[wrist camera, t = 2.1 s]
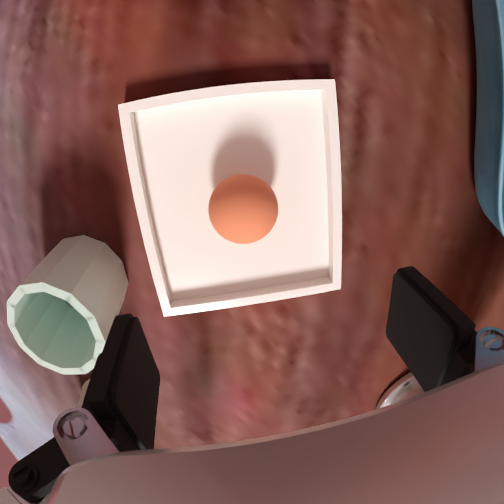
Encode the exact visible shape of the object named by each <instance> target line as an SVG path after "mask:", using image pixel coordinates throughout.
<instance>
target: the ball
mask: <svg viewBox="0 0 504 504" xmlns="http://www.w3.org/2000/svg"><path fill="white" fill-rule="evenodd" d="M208 212H209V218H210V221H211V224H212V226H213V227H214V229H215V230H216V231H217V233H218V234H219V235H220V236H222V237H223V238H225V239H226V240H228V241H231V242H234V243H238V244H249V243H253V242H256V241H258V240H260V239H262V238H263V237H265V236H266V235H267V234H268V233H269V232H270V231H271V230H272V228H273V226H274V225H275V223H276V220H277V216H278V201H277V198H276V195H275V193H274V191H273V190H272V188H271V187H270V186H269V185H268V184H267V183H266V182H265V181H263V180H262V179H260V178H258V177H256V176H253V175H248V174H239V175H234V176H231V177H229V178H227V179H225V180H223V181H222V182H221V183H220V184H218V186H217V187H216V188H215V189H214V191H213V193H212V195H211V197H210V200H209V205H208Z"/></svg>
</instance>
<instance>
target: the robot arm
mask: <svg viewBox="0 0 504 504" xmlns="http://www.w3.org/2000/svg"><path fill="white" fill-rule="evenodd" d="M475 326H476V325H475V324H474V323H473V322H472V321H471V320H470V319H469V318H468V317H467V316H466V315H465V314H464V313H463V312H462V311H461V310H460V309H459V308H458V307H457V306H456V305H455V304H454V303H453V302H452V301H450V300H449V299H448V298H447V297H446V296H445V295H444V294H443V293H442V292H441V291H440V290H439V289H438V288H437V287H435V286H434V285H433V284H432V283H431V282H430V281H429V280H428V279H427V278H426V277H424V276H423V275H422V274H421V273H420V272H419V271H418V270H417V269H415V268H414V267H413V266H409V267H405V268H400V269H398V270H397V273H395V274H394V276H393V283H392V291H391V299H390V306H389V313H388V320H387V326H386V335H387V338H388V339H389V341H390V342H391V344H392V345H393V346H394V348H395V349H396V351H397V352H398V354H399V355H400V357H401V358H402V359H403V361H404V362H405V364H406V365H407V367H408V368H409V370H410V371H411V372H410V373H408V374H407V375H405V376H403V377H402V378H401V379H399V380H398V381H397V382H395V383H394V384H393V385H392V386H391V387H390V388H389V389H388V390H387V391H386V392H385V393H384V395H383V396H382V397H381V399H380V401H379V402H378V404H377V407H376V410H372V411H369V412H366V413H363V414H359V415H356V416H353V417H349V418H345V419H342V420H338V421H334V422H330V423H326V424H322V425H318V426H314V427H310V428H306V429H301V430H296V431H292V432H287V433H282V434H276V435H271V436H266V437H260V438H254V439H247V440H241V441H234V442H226V443H218V444H209V445H199V446H189V447H177V448H162V449H154V437H155V425H156V414H157V404H158V395H159V385H160V374H159V371H158V368H157V366H156V363H155V361H154V358H153V356H152V353H151V351H150V348H149V346H148V343H147V340H146V338H145V335H144V332H143V330H142V327H141V324H140V321H139V319H138V318H137V317H133V315H132V314H123V315H116V316H115V318H114V320H113V323H112V326H111V329H110V331H109V334H108V337H107V340H106V343H105V345H104V348H103V351H102V353H100V354H99V355H98V357H97V360H96V363H95V366H94V369H93V372H92V375H91V378H90V381H89V384H88V387H87V391H86V394H85V397H84V400H83V404H82V407H81V408H80V407H75V408H70V409H67V410H65V411H64V412H62V413H61V414H60V415H59V416H58V417H57V418H56V420H55V422H54V424H53V434H54V438H52V439H51V440H49V441H48V442H47V443H45V444H44V445H42V446H41V447H39V448H38V449H36V450H35V451H33V452H32V453H30V454H29V455H27V456H26V457H24V458H23V459H21V460H20V461H18V462H17V463H16V464H15V465H14V466H13V467H12V469H11V470H10V473H9V485H10V486H9V487H8V488H5V487H3V488H2V489H1V490H0V504H504V331H502V330H500V329H498V328H495V327H485V328H482V329H480V330H479V331H478V332H476V331H475V330H474V329H475Z"/></svg>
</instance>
